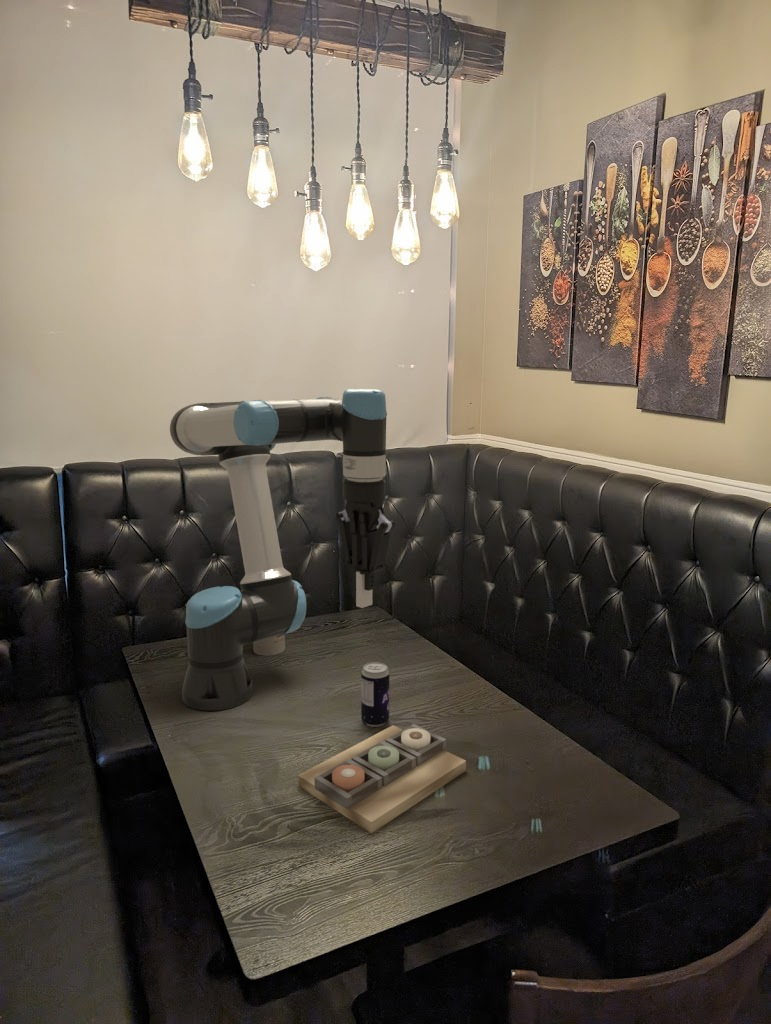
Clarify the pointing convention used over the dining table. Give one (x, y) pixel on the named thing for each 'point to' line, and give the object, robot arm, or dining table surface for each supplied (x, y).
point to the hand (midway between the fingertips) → (364, 605)
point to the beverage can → (375, 694)
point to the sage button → (383, 757)
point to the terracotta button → (348, 777)
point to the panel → (384, 778)
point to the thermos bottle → (270, 646)
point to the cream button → (415, 739)
